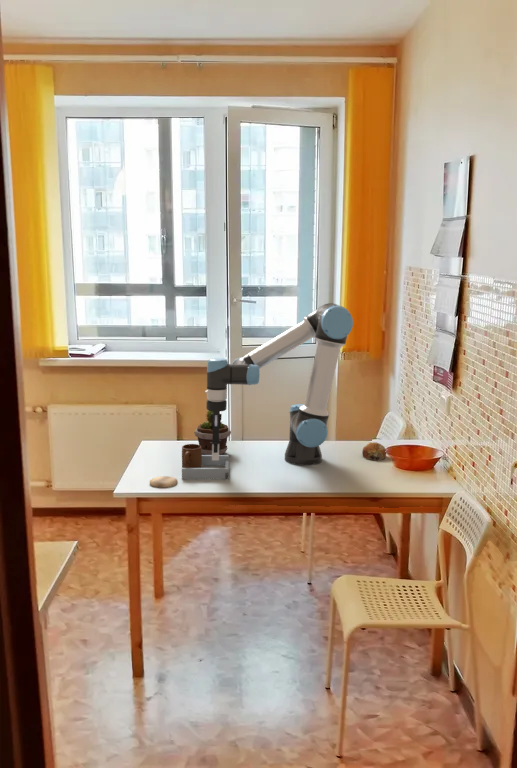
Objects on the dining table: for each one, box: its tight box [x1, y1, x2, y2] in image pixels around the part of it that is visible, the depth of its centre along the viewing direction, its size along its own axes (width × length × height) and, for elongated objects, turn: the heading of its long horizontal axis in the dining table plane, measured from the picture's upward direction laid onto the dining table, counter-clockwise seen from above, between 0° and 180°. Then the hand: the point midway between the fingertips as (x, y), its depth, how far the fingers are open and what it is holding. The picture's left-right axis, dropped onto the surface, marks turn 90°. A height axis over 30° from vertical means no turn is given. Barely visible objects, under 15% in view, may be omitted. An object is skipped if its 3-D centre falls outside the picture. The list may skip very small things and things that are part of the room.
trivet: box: [149, 475, 178, 489], centre depth 240 cm, size 10×10×1 cm
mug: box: [181, 443, 203, 469], centre depth 252 cm, size 12×8×9 cm, turn 170°
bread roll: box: [361, 441, 387, 461], centre depth 275 cm, size 10×10×8 cm
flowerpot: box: [194, 410, 232, 455], centre depth 274 cm, size 14×15×20 cm
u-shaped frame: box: [181, 454, 230, 480], centre depth 253 cm, size 17×17×4 cm
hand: (215, 459), depth 253 cm, fingers closed
